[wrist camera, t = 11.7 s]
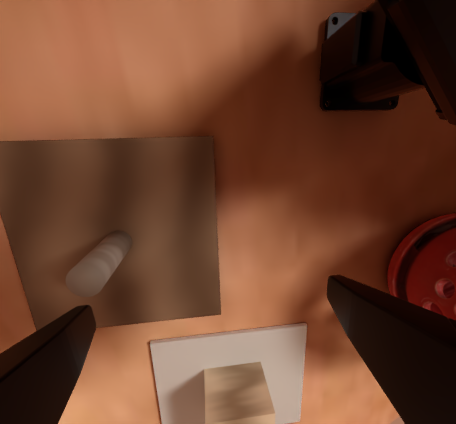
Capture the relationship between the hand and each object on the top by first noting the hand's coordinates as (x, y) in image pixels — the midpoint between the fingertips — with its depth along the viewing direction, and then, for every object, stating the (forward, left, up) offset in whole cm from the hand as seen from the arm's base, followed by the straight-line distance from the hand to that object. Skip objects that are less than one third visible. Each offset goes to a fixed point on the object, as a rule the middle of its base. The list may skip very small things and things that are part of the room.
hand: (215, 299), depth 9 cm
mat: (-2, +20, -12) cm, 23 cm away
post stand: (+7, +2, -12) cm, 14 cm away
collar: (-2, +20, -11) cm, 23 cm away
